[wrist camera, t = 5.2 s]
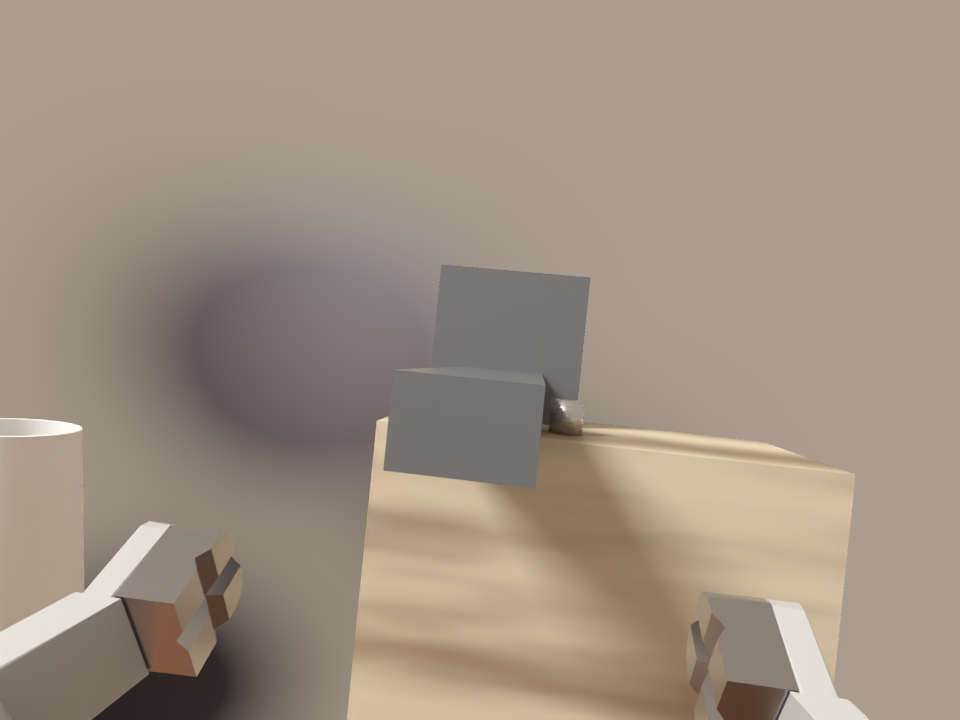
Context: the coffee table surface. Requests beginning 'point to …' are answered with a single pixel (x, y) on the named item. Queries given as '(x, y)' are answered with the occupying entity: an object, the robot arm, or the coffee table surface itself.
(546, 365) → the t handle
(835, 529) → the pedestal
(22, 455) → the champagne flute
